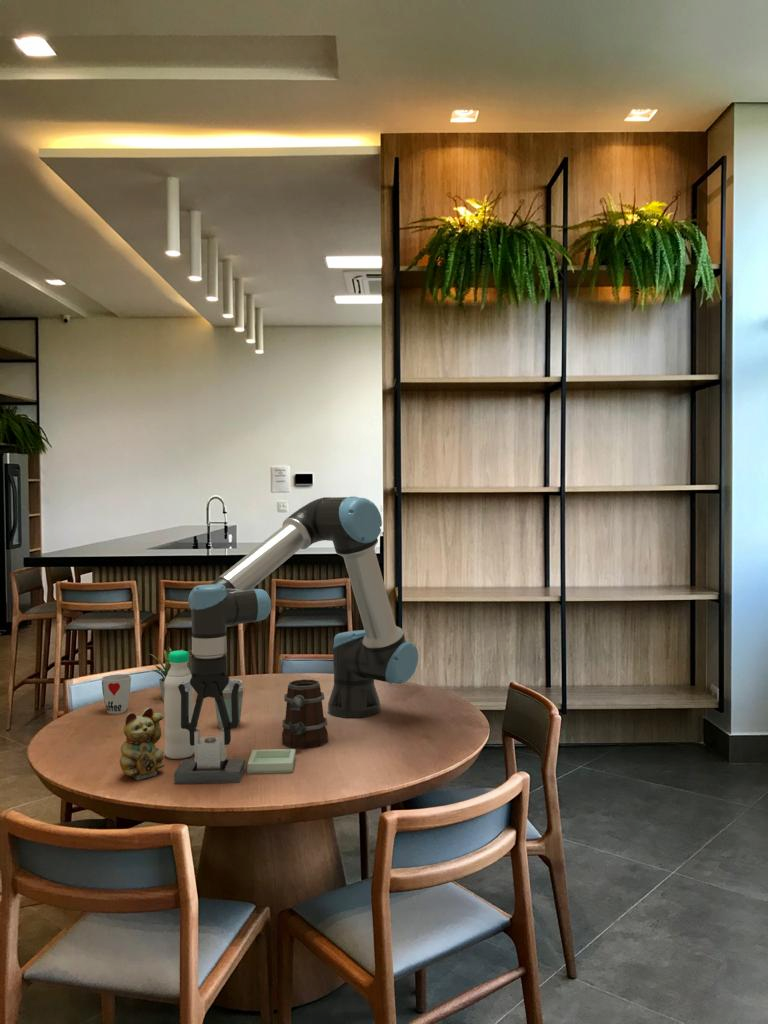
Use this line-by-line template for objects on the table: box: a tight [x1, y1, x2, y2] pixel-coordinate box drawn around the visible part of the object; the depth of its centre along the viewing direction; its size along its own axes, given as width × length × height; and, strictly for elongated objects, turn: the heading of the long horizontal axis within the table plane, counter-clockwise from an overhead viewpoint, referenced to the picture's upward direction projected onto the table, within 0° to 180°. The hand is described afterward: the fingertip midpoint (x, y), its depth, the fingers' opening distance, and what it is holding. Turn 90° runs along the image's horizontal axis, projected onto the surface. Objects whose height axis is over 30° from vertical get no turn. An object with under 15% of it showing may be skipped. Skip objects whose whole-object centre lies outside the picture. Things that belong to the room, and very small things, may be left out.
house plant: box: [149, 646, 192, 702], centre depth 245 cm, size 14×14×16 cm
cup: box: [101, 673, 132, 715], centre depth 231 cm, size 8×8×10 cm
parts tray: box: [246, 748, 296, 775], centre depth 183 cm, size 10×10×2 cm
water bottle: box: [163, 650, 195, 760], centre depth 191 cm, size 7×7×25 cm
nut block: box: [197, 736, 224, 771], centre depth 177 cm, size 5×5×8 cm
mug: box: [281, 678, 329, 749], centre depth 199 cm, size 16×12×15 cm
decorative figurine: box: [119, 707, 165, 781], centre depth 178 cm, size 10×8×15 cm
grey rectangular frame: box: [173, 757, 246, 785], centre depth 177 cm, size 14×9×2 cm, turn 92°
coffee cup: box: [213, 678, 245, 730], centre depth 216 cm, size 8×9×12 cm
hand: (210, 759), depth 177 cm, fingers closed on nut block, 5 cm apart
